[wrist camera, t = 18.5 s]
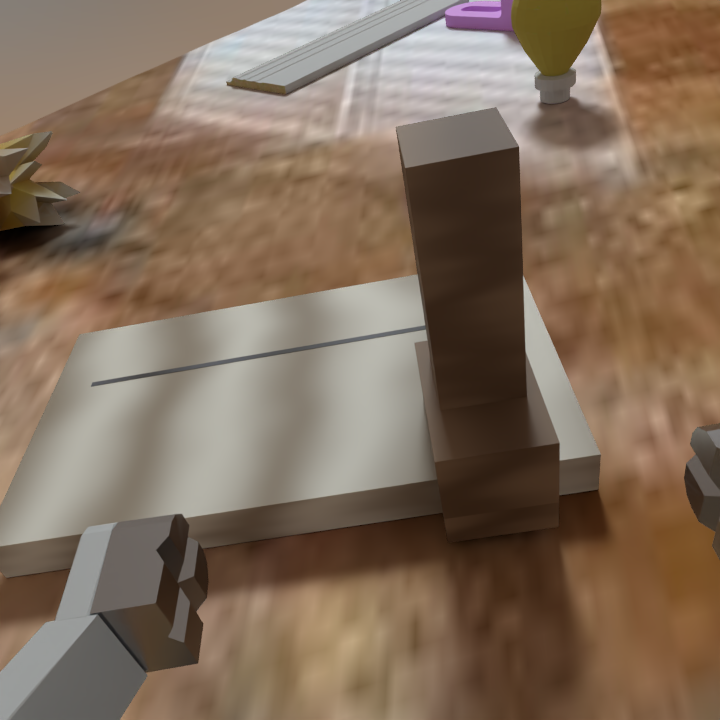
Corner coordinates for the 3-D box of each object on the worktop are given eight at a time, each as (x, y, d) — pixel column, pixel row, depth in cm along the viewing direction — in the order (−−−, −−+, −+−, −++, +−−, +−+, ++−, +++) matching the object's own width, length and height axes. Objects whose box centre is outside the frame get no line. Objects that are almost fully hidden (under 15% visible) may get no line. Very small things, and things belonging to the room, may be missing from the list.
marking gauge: (447, 542, 25) (393, 211, 16) (414, 343, 34) (368, 66, 25) (558, 526, 24) (562, 180, 16) (494, 330, 33) (474, 44, 25)
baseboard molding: (221, 88, 78) (288, 101, 70) (213, 62, 76) (281, 72, 69) (399, 6, 92) (470, 9, 85) (396, -18, 91) (468, -17, 83)
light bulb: (615, 90, 55) (623, -49, 49) (559, 120, 53) (560, -23, 46) (551, 78, 60) (551, -51, 53) (496, 105, 57) (489, -27, 51)
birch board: (6, 577, 28) (-20, 549, 26) (94, 361, 39) (79, 334, 37) (598, 489, 26) (600, 453, 25) (516, 288, 37) (515, 256, 35)
